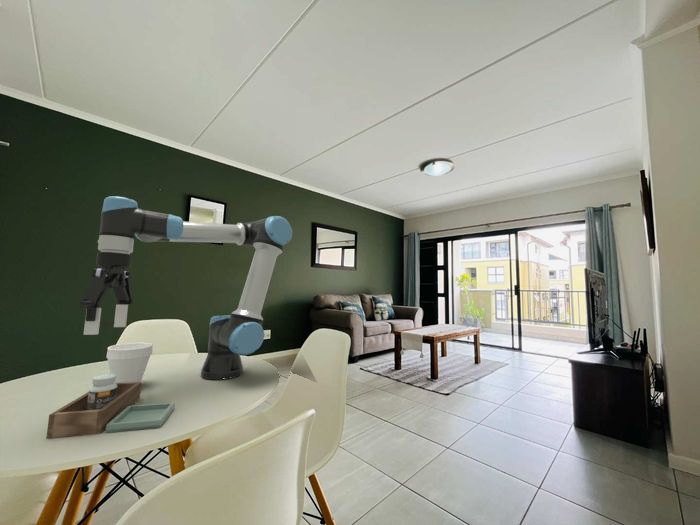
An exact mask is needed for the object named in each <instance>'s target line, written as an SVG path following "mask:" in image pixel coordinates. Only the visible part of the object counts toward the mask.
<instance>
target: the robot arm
mask: <svg viewBox="0 0 700 525" xmlns="http://www.w3.org/2000/svg"><path fill="white" fill-rule="evenodd" d="M102 205H103V206H102V210H101V216H100V225H99V228H100V229H99V237H98V240H97V244H98V245H97V250H98V252H97V254H96V260H95V265H96V266H98V267H101V268H98V267H97V268H95V267H94V268H93V269H92V272H91V274H92V275H91V278H90V280H89V283H88V285H86V286H87V287H86V289H85V291H84V294H83V296H82V298H81V301H80V308H82V309H85V310H86V311H85V318H84V328H83V336H84V335H85V336H87V335H89V336H90V335H91V336H94V335H99V332H100V331H99V330H100V325H101V324H100V323H101V315H102V307H100V305H101V304H102V303H103V300H104V299H105V297H106V295H107V294H108V292H109V291H110V289H111V288H112V289H113V293H114V295H115V298H116V301H117V303H118V304H116V305H115V312H114V313H115V314H114V322H113V323H114V324H113V328H126V327H127V320H128V311H129V310H128V309H129V305H132V304H133V300H134V298H133V290H132V285H131V271H129V270H128V271H127V270H125V269H129V268H131V266H132V260H133V255H132V253H133V252H134V244H135V242H134V241H135V237H136V239H138V240H139V241H140V242H142V243H154V242H158V243H159V242H161V243H163V242H165V243H166V242H170V243H171V242H172V243H217V244H218V243H221V244H222V243H223V244H236V245H237V246H244V247H245V246H246V247H253V248H254V249H255V251H254V254H253V258H252V261H251V265H250V267H249V271H248V273H247V277H246V281H245V284H244V287H243V289H242V290H243V291H242V292H241V296H240V299H239V303H238V306H237V309H236V310H234V311H232V312H231V314H228V315H227V314H226V315H214V316H212V317H211V318H210V320H209V321H210V322H209V330H208V343H207V344H208V345H207V355H206V358H205V360H204V363H203V365H202V367H201V370H200V371H201V372H200V378H202V377H203V378H202V379H204V378H206V379H205V380H209V379H222V380H224V379H223V378H229V379H231V378H230V377H234V376H237V375H239V376H241V375H242V374H243V373H242V372H244V366H243V361H242V358H241V356H244V355H246V356H247V355H250V354H253V353H254V352H256V351H257V350H259V348H260V347H261V346H262V344H263V342H264V339H265V330H264V328H263V326H262V325H263V322H264V318H263V316H262V310H263V308H264V303H265V299H266V296H267V292H268V289H269V286H270V282H271V278H272V276H273V271H274V269H275V266H276V261H277V258H278V256H279V255H281V254H282V253H283V252H284V246H285V245H287V244H289V243H290V241H292V239H293V238H292V237H293V228H292V227H291V223H290V222H289V221H288V220H287V219H286V218H284V217H282V216H279V215H274V216H273V215H271V216H268V217H267V218H263V219H259V220H256V221H254V220H253V221H250V222H237V223H236V224H231V223H229V224H228V223H212V222H201V221H199V222H198V221H197V222H196V221H185V220H183V218H182V217H180V216H177V215H174V214H170V213H169V214H168V213H162V212H159V211H158V212H156V211H151V210H145V209H142V208H139V206H138V202H137V201H136V200H134V199H132V198H131V199H130V198H127V197H125V196H117V195H115V196H113V195H112V196H107V197H105V198H104V200H103V204H102ZM241 373H242V374H241ZM240 374H241V375H240ZM237 377H238V376H237ZM234 378H235V377H234Z"/></svg>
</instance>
